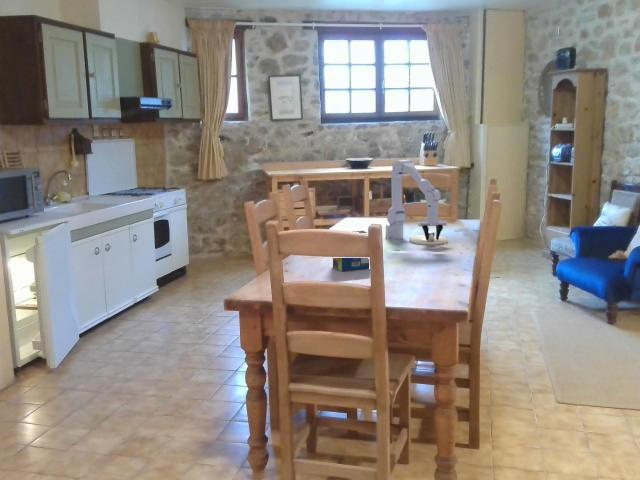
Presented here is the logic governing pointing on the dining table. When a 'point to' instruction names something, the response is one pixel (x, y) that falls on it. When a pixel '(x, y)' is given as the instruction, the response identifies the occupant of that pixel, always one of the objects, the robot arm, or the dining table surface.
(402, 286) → the dining table surface
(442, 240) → the dial
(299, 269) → the dining table surface
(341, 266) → the protein box
